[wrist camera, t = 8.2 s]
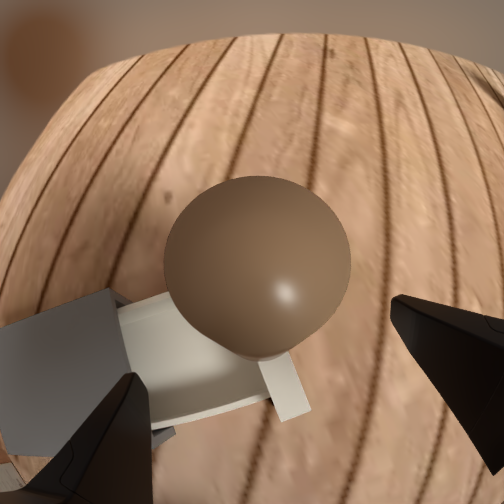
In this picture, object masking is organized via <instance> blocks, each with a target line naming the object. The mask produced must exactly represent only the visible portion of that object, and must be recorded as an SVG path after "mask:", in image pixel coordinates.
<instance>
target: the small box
mask: <svg viewBox="0 0 504 504" xmlns="http://www.w3.org/2000/svg"><path fill="white" fill-rule="evenodd" d="M25 485H26V484H25V483H24V481H23V480H22V478H21V477H20V475H19V474H18V472H17V471H16V469H15V468H14V466H13V464H12V463H11V462H9V463H3V464H0V492H6V491H14V490H18V489H20V488H22V487H24V486H25Z"/></svg>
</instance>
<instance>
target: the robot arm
mask: <svg viewBox="0 0 504 504" xmlns="http://www.w3.org/2000/svg"><path fill="white" fill-rule="evenodd" d="M390 319H391V322H392V324H393V326H394V327H395V329H396V330H397V332H398V334H399V335H400V337H401V339H402V340H403V342H404V344H405V345H406V347H407V349H408V350H409V352H410V354H411V355H412V356H413V358H414V359H415V360H416V362H417V363H418V364H419V366H420V367H421V368H422V370H423V371H424V373H425V374H426V375H427V377H428V378H429V379H430V381H431V382H432V384H433V385H434V386H435V388H436V389H437V391H438V392H439V393H440V395H441V396H442V398H443V399H444V401H445V402H446V403H447V405H448V406H449V408H450V409H451V411H452V412H453V414H454V415H455V417H456V418H457V420H458V421H459V423H460V424H461V426H462V427H463V429H464V430H465V432H466V433H467V435H468V437H469V438H470V440H471V441H472V443H473V444H474V446H475V447H476V449H477V451H478V452H479V454H480V456H481V457H482V459H483V460H484V462H485V464H486V465H487V467H488V469H489V470H490V472H491V474H492V475H493V476H494V475H495V474H496V473H498V472H499V471H500V470H501V469H502V468H503V467H504V320H503V319H499V318H495V317H491V316H487V315H482V314H479V313H475V312H471V311H467V310H463V309H459V308H455V307H451V306H447V305H443V304H439V303H435V302H431V301H427V300H423V299H419V298H415V297H411V296H407V295H403V294H400V295H398V296H395V297H393V298H392V300H391V311H390ZM0 504H153V493H152V430H151V419H150V408H149V395H148V390H147V388H146V386H145V385H144V383H143V381H142V380H141V378H140V377H139V375H138V374H137V373H136V372H130V373H125V374H124V375H123V376H122V377H121V378H120V380H119V381H118V382H117V383H116V384H115V385H114V387H113V388H112V389H111V390H110V391H109V392H108V394H107V395H106V396H105V397H104V398H103V400H102V401H101V402H100V403H99V404H98V405H97V407H96V408H95V409H94V410H93V411H92V413H91V414H90V415H89V416H88V417H87V419H86V420H85V421H84V422H83V423H82V425H81V426H80V427H79V428H78V429H77V431H76V432H75V433H74V434H73V435H72V437H71V438H70V440H68V441H67V443H66V444H65V445H64V446H63V447H62V448H61V450H60V451H59V452H58V453H57V454H56V455H55V457H54V458H53V459H52V460H51V461H50V462H49V463H48V464H47V465H46V466H45V467H44V468H43V469H42V470H41V471H40V472H39V473H38V474H37V475H36V476H35V477H34V478H33V479H32V480H31V481H30V482H29V483H28V484H27V485H25V486H24V487H22V488H20V489H18V490H14V491H6V492H0ZM501 504H504V501H503V502H502V503H501Z"/></svg>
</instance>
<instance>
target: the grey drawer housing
mask: <svg viewBox="0 0 504 504" xmlns="http://www.w3.org/2000/svg"><path fill="white" fill-rule="evenodd" d="M132 303H133V302H131V301H130V300H128V299H126V298H125V297H123V296H121V295H120V294H118V293H117V292H115V291H113V290H112V289H110V288H106V289H103V290H101V291H98V292H95V293H92V294H90V295H87V296H84V297H82V298H79V299H76V300H73V301H71V302H68V303H65V304H63V305H60V306H57V307H55V308H52V309H49V310H47V311H44V312H41V313H39V314H36V315H33V316H31V317H28V318H25V319H23V320H20V321H17V322H15V323H12V324H10V325H7V326H4V327H2V328H0V430H1V434H2V437H3V440H4V443H5V446H6V449H7V452H8V454H11V455H23V456H42V457H55V455H56V454H57V453H58V452H59V451H60V450H61V448H62V447H63V446H64V445H65V444H66V443H67V441H68V440H70V438H71V437H72V435H73V434H74V433H75V432H76V431H77V429H78V428H79V427H80V426H81V425H82V423H83V422H84V421H85V420H86V419H87V417H88V416H89V415H90V414H91V413H92V411H93V410H94V409H95V408H96V407H97V405H98V404H99V403H100V402H101V401H102V400H103V398H104V397H105V396H106V395H107V394H108V392H109V391H110V390H111V389H112V388H113V387H114V385H115V384H116V383H117V382H118V381H119V380H120V378H121V377H122V376H123V375H124V374H125V373H130V372H132V371H131V367H130V363H129V360H128V356H127V352H126V348H125V344H124V340H123V336H122V332H121V327H120V323H119V318H118V313H117V309H118V308H121V307H123V306H126V305H129V304H132ZM175 434H176V432H175V430H174V427H168V428H163V429H158V430H153V431H152V449H154V448H156V447H157V446H159V445H161V444H162V443H164V442H165V441H167V440H168V439H169V438H171V437H172V436H174V435H175Z"/></svg>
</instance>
